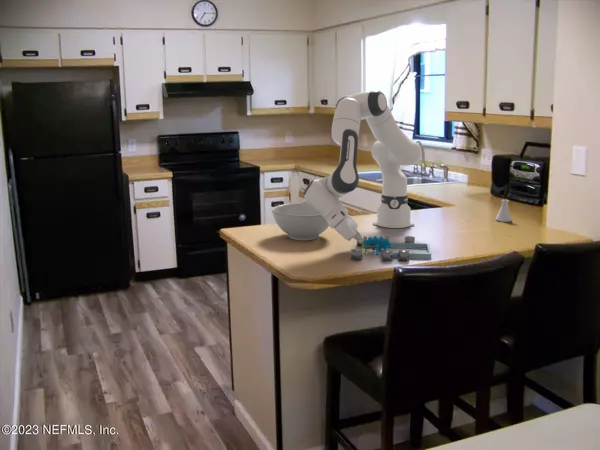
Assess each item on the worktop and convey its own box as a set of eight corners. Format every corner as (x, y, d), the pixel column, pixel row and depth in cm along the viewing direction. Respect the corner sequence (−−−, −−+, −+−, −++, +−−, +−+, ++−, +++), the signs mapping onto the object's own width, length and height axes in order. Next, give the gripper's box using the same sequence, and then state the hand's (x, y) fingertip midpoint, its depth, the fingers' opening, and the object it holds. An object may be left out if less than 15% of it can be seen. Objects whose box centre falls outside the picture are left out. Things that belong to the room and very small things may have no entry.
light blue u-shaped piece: (389, 247, 245) (389, 242, 245) (428, 248, 243) (428, 243, 243) (389, 257, 230) (389, 252, 230) (431, 259, 228) (431, 253, 228)
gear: (393, 247, 238) (388, 233, 230) (392, 260, 235) (387, 247, 227) (365, 248, 242) (359, 235, 234) (364, 262, 239) (358, 248, 231)
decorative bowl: (327, 228, 277) (328, 202, 274) (341, 243, 251) (342, 214, 248) (268, 231, 272) (268, 204, 270) (276, 246, 247) (276, 216, 244)
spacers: (354, 242, 252) (354, 234, 251) (414, 244, 249) (414, 236, 248) (351, 260, 226) (351, 251, 226) (417, 262, 223) (417, 253, 222)
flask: (505, 218, 298) (506, 198, 295) (514, 221, 291) (516, 201, 289) (492, 219, 295) (493, 199, 293) (501, 222, 289) (503, 201, 287)
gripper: (333, 216, 246) (357, 240, 247) (328, 226, 226) (355, 253, 227) (344, 205, 244) (369, 230, 245) (340, 215, 225) (367, 242, 225)
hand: (362, 241), depth 236 cm, fingers closed
